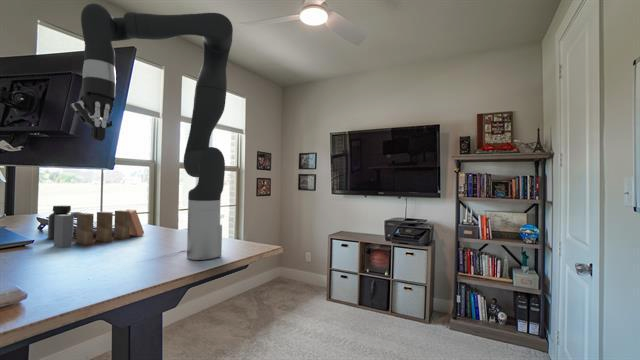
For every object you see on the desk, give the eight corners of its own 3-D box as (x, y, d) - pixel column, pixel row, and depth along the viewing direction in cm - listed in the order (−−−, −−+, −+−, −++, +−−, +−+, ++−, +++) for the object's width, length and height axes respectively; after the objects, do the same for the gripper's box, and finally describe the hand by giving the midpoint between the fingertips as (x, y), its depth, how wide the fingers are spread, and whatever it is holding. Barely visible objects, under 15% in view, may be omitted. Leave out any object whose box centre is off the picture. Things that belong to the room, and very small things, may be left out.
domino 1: (84, 242, 100) (85, 212, 100) (92, 243, 98) (93, 213, 98) (76, 243, 98) (77, 213, 98) (84, 245, 96) (85, 214, 96)
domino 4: (136, 232, 116) (127, 209, 113) (144, 233, 114) (135, 210, 111) (130, 235, 114) (121, 212, 111) (138, 236, 112) (129, 212, 109)
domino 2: (103, 239, 106) (104, 211, 106) (111, 240, 104) (112, 212, 104) (96, 240, 104) (96, 212, 104) (104, 241, 101) (105, 212, 102)
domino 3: (120, 236, 111) (121, 210, 111) (129, 237, 109) (129, 211, 109) (114, 237, 109) (114, 210, 109) (122, 239, 107) (123, 211, 107)
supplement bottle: (62, 241, 101) (63, 206, 101) (41, 241, 100) (42, 206, 101) (78, 238, 107) (79, 205, 108) (59, 237, 107) (60, 204, 107)
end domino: (63, 245, 95) (63, 214, 95) (71, 247, 93) (72, 215, 93) (53, 246, 93) (54, 215, 93) (62, 248, 91) (63, 216, 91)
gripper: (116, 88, 91) (114, 144, 91) (64, 74, 79) (62, 138, 79) (131, 85, 88) (129, 143, 87) (79, 69, 76) (77, 136, 76)
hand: (97, 140), depth 83 cm, fingers closed
